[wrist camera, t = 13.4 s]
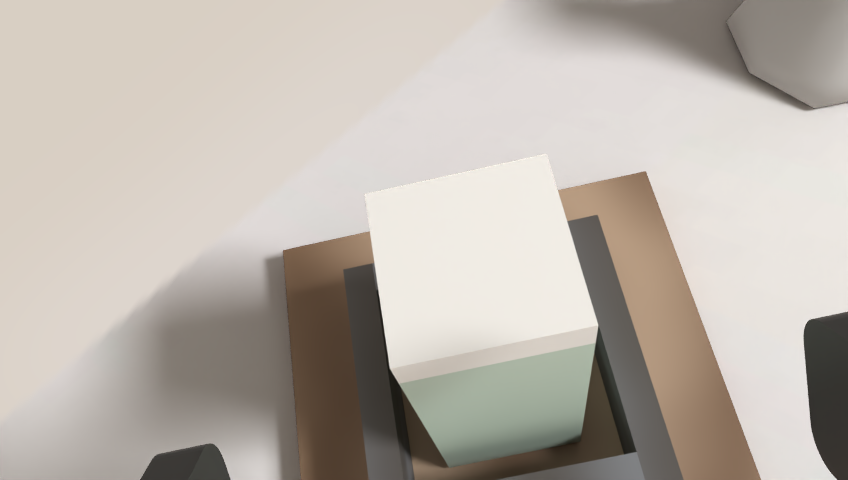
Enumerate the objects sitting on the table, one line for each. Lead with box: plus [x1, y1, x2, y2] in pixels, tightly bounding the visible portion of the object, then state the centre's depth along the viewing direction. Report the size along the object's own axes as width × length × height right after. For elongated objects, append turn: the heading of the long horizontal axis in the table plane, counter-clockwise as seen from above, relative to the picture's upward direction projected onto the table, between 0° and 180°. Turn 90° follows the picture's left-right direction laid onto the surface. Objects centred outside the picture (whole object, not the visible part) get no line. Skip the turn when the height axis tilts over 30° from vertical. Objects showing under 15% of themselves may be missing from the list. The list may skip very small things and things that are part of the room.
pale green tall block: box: [364, 154, 598, 468], centre depth 20 cm, size 4×4×10 cm
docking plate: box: [283, 171, 761, 480], centre depth 24 cm, size 14×14×4 cm
